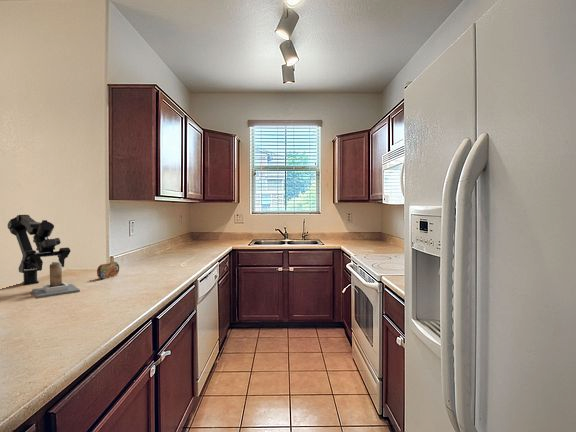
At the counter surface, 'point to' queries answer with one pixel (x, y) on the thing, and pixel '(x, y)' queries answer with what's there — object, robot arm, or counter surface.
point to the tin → (108, 270)
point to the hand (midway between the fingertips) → (52, 268)
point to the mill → (55, 274)
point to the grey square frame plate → (55, 290)
